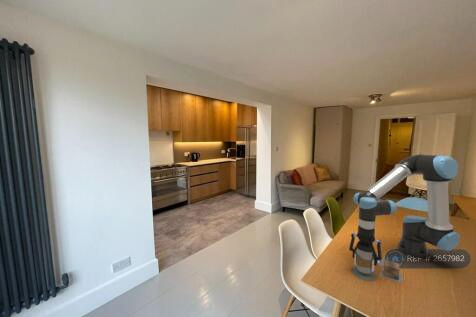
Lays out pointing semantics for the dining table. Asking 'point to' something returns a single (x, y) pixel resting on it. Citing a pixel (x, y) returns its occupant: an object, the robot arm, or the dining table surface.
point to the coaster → (364, 275)
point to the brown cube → (391, 269)
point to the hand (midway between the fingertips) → (364, 267)
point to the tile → (380, 262)
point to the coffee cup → (364, 258)
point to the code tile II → (391, 278)
